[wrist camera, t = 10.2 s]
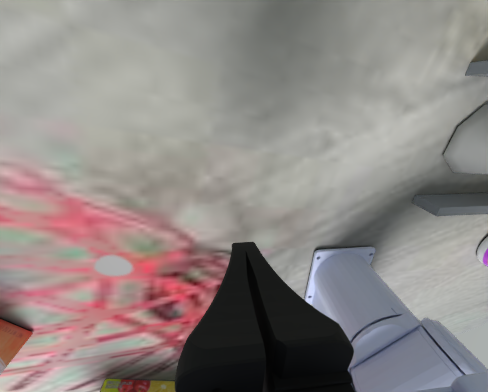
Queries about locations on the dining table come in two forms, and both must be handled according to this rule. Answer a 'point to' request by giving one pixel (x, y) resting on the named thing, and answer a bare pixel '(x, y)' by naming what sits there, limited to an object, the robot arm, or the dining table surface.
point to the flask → (470, 145)
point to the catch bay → (457, 202)
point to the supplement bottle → (483, 252)
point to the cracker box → (11, 342)
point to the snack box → (137, 385)
